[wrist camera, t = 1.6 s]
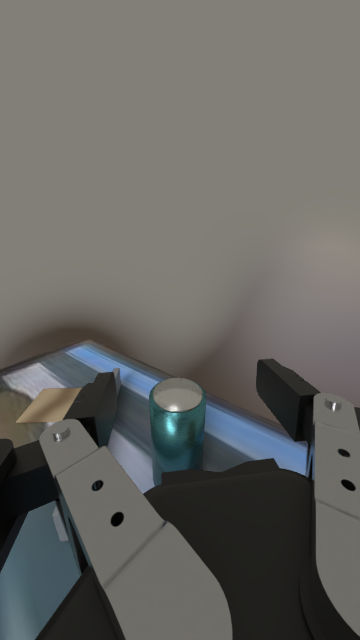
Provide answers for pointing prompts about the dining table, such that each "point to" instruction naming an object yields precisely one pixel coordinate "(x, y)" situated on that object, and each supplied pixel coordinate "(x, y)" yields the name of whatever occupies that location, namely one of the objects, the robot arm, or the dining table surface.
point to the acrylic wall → (56, 515)
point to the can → (176, 426)
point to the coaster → (49, 405)
